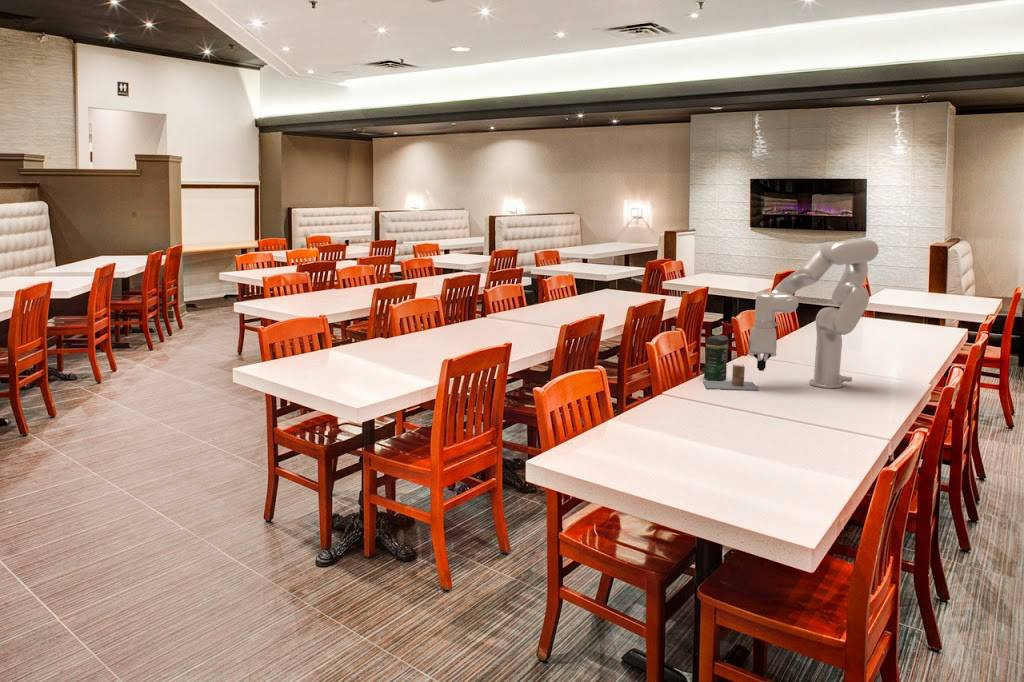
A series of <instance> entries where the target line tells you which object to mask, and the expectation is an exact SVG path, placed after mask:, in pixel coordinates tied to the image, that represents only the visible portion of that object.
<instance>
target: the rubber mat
mask: <svg viewBox="0 0 1024 682" xmlns="http://www.w3.org/2000/svg"><path fill="white" fill-rule="evenodd" d="M702 383H703V385H704V387H705V389H706V390H709V389H720V390H721V391H747V392H748V391H750V392H751V391H752V392H757V391H758V392H759V388H758V386H757V385H756V384H755V383H754V382H753V381H744V386H733V385H732V380H719V381H717V380H702ZM720 390H719V391H720Z"/></svg>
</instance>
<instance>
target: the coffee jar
mask: <svg viewBox="0 0 1024 682" xmlns="http://www.w3.org/2000/svg"><path fill="white" fill-rule="evenodd" d="M728 347H729V338H728V336H727V335H722V334H717V335H712V336H708V337H706V341H705V350H706V351H705V363H704V373H703V375H704V376H703V377H704V379H706V380H707V381H717V380H719V381H724V380H725V379H727V369H728V367H727V366H728V365H727V362H728V361H727V360H728V359H727V358H728Z"/></svg>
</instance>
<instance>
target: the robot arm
mask: <svg viewBox="0 0 1024 682" xmlns="http://www.w3.org/2000/svg"><path fill="white" fill-rule="evenodd" d="M878 254H879V246H878V244H877V243H876V242H875V241H873V240H872V239H868V238H867V239H866V238H854V237H853V238H848V239H846V240H844V242H838V241H837V242H835V241H825V242H823V243H821V244H820V245H819V246H818V247H817V248H816V249H815V250H814V251H813V252H812V254H811V255H810V256H809V257H808V258H807V260H806V261H805V262H804V263H803V264H802V265H801V266H800V267H799V268H798V269H797V270H795V271H794V272H792V273H791V274H789V275H788V276H786V277H785V278H783V279H782V280H781V281H780V282H779V283H778V284H777V285H776V286H775V287H774V289H773V290H772V291H771V292H770V293H758V294H757V295H756V297H755V309H754V310H755V312H754V324H753V327H751V330H750V334H749V340H748V353H747V354H748V356H751V357H754V358H755V359H756V360H757V362H756V363H757V366H756V368H757V370H758V371H759V372H765V369H766V368H767V367H766V366H767V365H766V364H767V361H768V360H769V359H770V358H773V357H776V356H777V349H778V348H777V347H778V346H777V345H778V344H777V330H776V326H777V327H778V326H779V322H777V321H775V318H776V316H775V315H776V313H781V314H782V313H784V314H791V313H793V312H794V311H796V310H797V309H798V307H799V301H798V298H797V297H796V296H795V295H793V294H795V293H796V292H797V291H799V290H801V289H803V288H806V287H809V286H812V285H814V284H817V283H818V282H819V281H820V279H822V277H823V276H824V275H825V274H826V273H827V271H828V270H829V269H830V268H831V267H832V266H833V265H839V266H840V265H841V266H843V265H845V267H844V271H843V274H842V275H841V277H840V279H839V280H838V282H837V284H836V286H835V287H834V290H833V292H832V294H831V300H832V303H833V304H835V305H836V306H838V307H839V308H837V307H832V306H830V307H828V306H827V307H823V308H821V309H820V310H819V311H818V313H817V314H816V316H815V329H816V342H815V343H816V344H815V345H816V346H815V354H814V357H815V359H814V371H813V379H810V380H809V385H811V386H813V387H817V388H823V389H839V388H843V387H844V382H848V383H852V381H853V377H852V376H845V375H841V360H842V348H843V337H842V336H844V335H848V334H850V333H852V332H853V330H855V329H856V327H857V325H858V323H859V322H860V320H861V318H862V316H863V315H864V313H865V311H866V309H867V307H868V305H869V302H870V294H869V292H868V289H866V288H865V287H863V285H864V284H865V282H866V279H867V278H868V274H869V266H868V263H869V262H870V261H873V260H875V258H876V257H878V256H877V255H878ZM761 355H763V356H762V357H761Z"/></svg>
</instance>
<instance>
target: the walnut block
mask: <svg viewBox="0 0 1024 682" xmlns="http://www.w3.org/2000/svg"><path fill="white" fill-rule="evenodd" d="M745 368H746V367H745V365H744V364H732V379H731V381H732V385H733V386H744V382H745V370H746V369H745Z"/></svg>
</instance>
